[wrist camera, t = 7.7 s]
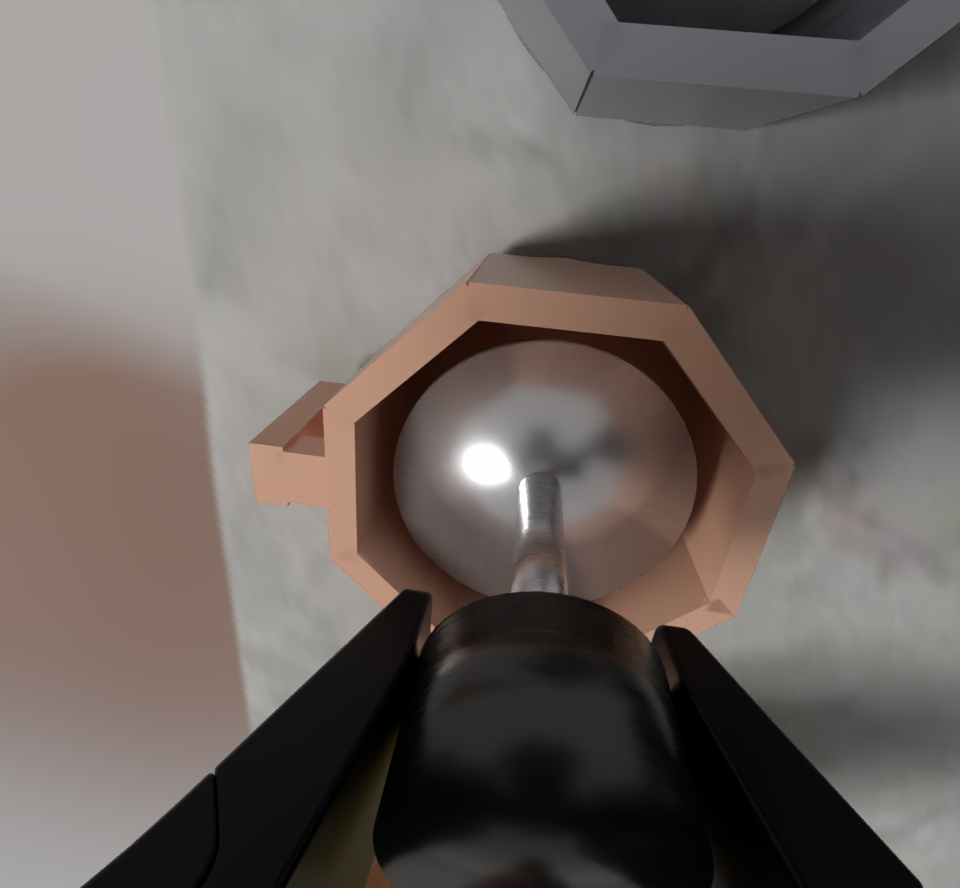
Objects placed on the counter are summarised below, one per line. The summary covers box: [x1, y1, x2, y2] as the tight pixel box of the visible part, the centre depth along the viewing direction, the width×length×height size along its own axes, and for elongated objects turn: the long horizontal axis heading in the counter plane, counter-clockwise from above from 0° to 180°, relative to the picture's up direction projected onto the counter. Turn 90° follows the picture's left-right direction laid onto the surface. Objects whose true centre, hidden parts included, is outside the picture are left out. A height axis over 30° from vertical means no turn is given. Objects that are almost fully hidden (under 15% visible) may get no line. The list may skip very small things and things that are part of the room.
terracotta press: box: [249, 253, 796, 642], centre depth 13 cm, size 10×9×5 cm
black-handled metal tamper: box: [372, 336, 714, 888], centre depth 8 cm, size 6×6×8 cm
